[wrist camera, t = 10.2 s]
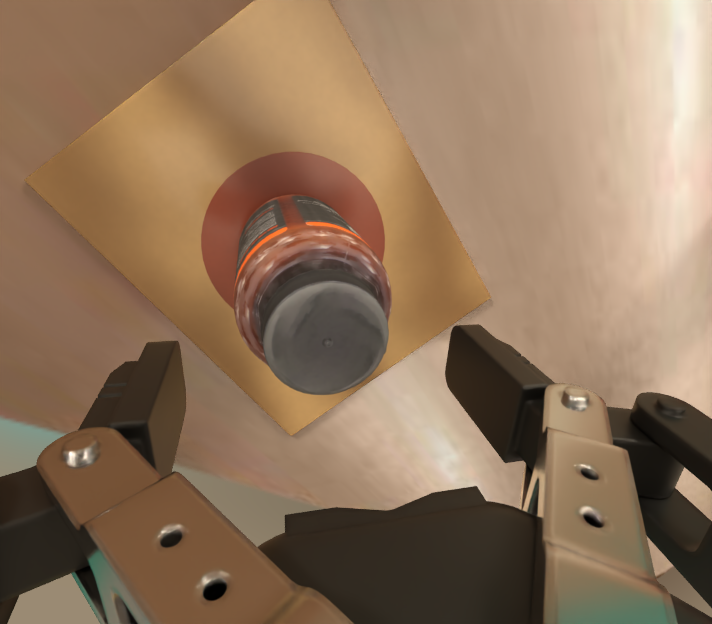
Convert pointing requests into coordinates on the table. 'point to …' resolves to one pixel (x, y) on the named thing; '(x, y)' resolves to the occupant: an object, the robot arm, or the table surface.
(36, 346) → the table surface
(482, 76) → the table surface
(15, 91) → the table surface
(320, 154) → the placemat
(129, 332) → the table surface
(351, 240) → the supplement bottle
